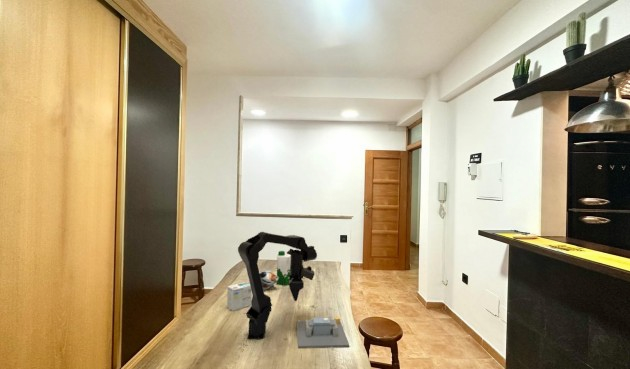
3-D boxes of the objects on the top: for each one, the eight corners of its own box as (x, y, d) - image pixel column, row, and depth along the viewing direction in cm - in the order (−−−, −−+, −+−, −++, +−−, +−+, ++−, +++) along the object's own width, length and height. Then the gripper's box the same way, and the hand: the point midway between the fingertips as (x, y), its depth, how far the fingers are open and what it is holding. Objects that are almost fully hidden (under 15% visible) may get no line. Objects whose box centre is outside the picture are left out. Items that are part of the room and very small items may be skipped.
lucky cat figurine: (274, 282, 178) (281, 266, 173) (272, 297, 167) (280, 280, 162) (251, 276, 176) (258, 259, 171) (248, 290, 165) (255, 273, 160)
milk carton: (279, 280, 184) (280, 249, 184) (292, 281, 182) (293, 250, 182) (274, 284, 175) (275, 252, 175) (288, 286, 173) (289, 254, 174)
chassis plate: (298, 348, 108) (298, 336, 108) (296, 322, 127) (297, 313, 128) (349, 347, 109) (349, 335, 109) (340, 322, 129) (340, 312, 129)
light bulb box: (245, 301, 149) (245, 281, 149) (251, 305, 144) (252, 284, 144) (226, 307, 141) (227, 285, 142) (232, 311, 137) (233, 289, 137)
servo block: (308, 335, 116) (309, 321, 116) (307, 329, 120) (308, 316, 120) (334, 334, 117) (335, 321, 117) (333, 329, 121) (333, 316, 121)
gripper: (315, 269, 121) (314, 305, 121) (312, 258, 140) (311, 289, 140) (289, 269, 120) (288, 305, 120) (289, 257, 139) (288, 289, 139)
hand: (295, 296), depth 129 cm, fingers open, 9 cm apart
